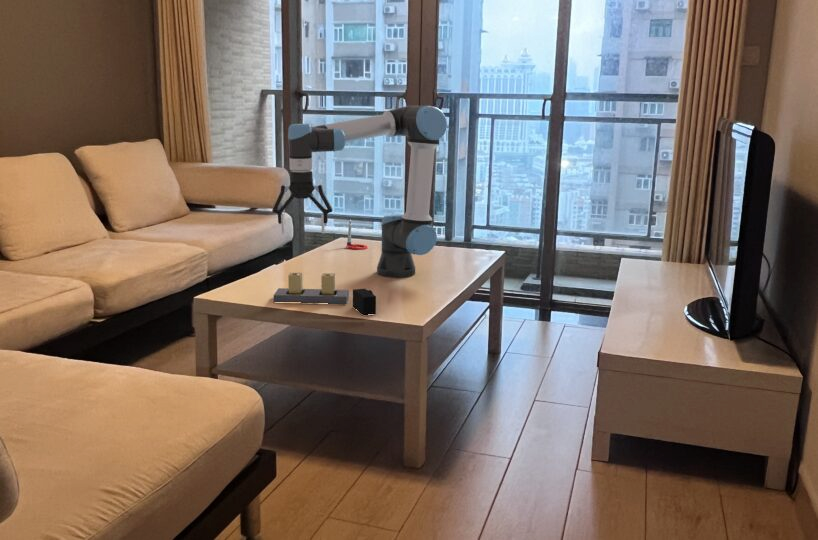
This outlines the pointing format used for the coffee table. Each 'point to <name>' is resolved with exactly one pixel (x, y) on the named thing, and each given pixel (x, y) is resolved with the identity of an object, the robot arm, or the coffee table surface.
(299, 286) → the tan tall block
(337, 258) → the coffee table surface
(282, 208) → the robot arm
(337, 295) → the rail
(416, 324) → the coffee table surface
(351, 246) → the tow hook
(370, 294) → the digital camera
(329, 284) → the beige upright block
